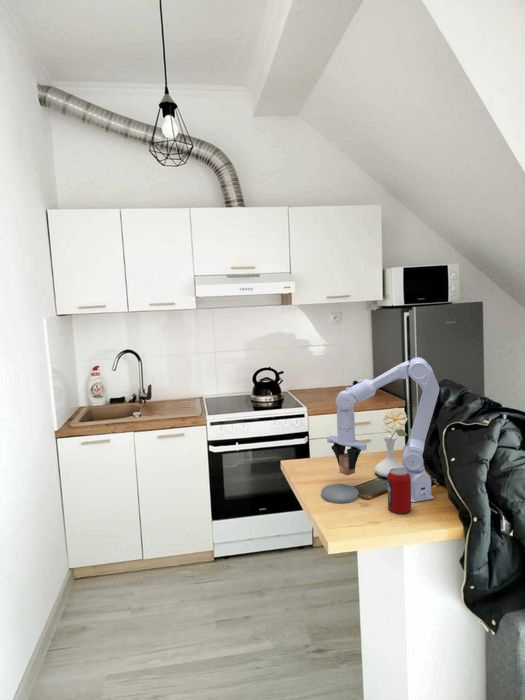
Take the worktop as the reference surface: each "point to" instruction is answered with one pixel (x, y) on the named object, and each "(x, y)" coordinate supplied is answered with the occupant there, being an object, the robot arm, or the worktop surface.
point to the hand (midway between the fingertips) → (347, 467)
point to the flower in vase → (391, 440)
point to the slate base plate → (339, 493)
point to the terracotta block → (345, 465)
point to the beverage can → (399, 490)
